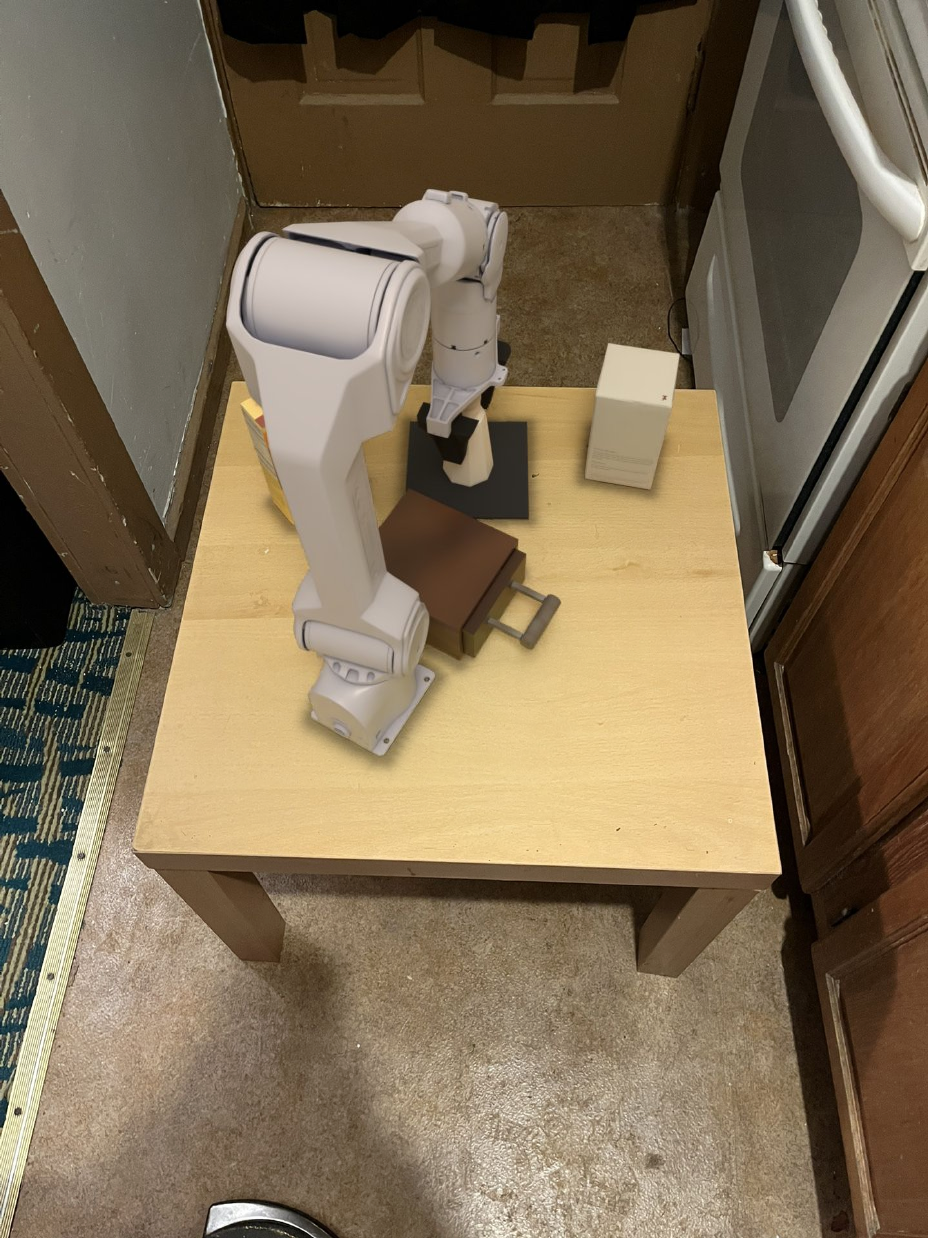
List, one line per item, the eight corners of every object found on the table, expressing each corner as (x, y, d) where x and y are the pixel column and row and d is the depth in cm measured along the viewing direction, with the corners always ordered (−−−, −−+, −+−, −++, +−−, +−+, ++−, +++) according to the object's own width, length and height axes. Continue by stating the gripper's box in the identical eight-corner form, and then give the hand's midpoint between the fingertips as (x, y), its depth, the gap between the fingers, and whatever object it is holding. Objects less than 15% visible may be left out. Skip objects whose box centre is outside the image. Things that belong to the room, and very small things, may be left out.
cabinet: (516, 573, 87) (518, 538, 81) (460, 661, 82) (458, 630, 77) (413, 524, 90) (408, 487, 85) (353, 606, 85) (344, 572, 80)
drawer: (569, 600, 84) (573, 575, 80) (520, 681, 80) (522, 659, 76) (427, 532, 89) (424, 505, 84) (373, 606, 84) (368, 582, 80)
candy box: (340, 461, 94) (317, 355, 81) (363, 484, 93) (343, 381, 79) (272, 503, 92) (236, 401, 78) (294, 528, 90) (262, 429, 77)
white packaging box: (660, 439, 95) (683, 352, 84) (650, 492, 91) (673, 408, 80) (593, 427, 96) (607, 339, 85) (581, 479, 92) (594, 395, 81)
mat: (528, 519, 90) (528, 517, 90) (404, 518, 90) (403, 516, 90) (526, 423, 96) (527, 421, 96) (410, 423, 97) (410, 421, 96)
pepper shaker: (470, 496, 91) (469, 424, 81) (432, 469, 93) (426, 397, 83) (503, 464, 93) (506, 391, 83) (465, 439, 95) (463, 365, 85)
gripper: (478, 396, 72) (479, 496, 84) (532, 283, 79) (526, 391, 91) (400, 376, 73) (411, 477, 85) (459, 267, 80) (462, 374, 92)
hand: (466, 431), depth 88 cm, fingers open, 7 cm apart
